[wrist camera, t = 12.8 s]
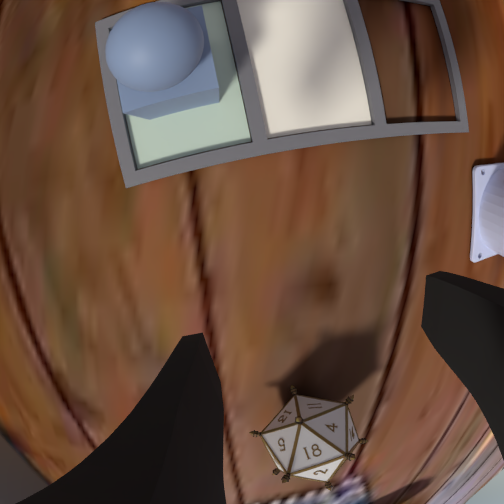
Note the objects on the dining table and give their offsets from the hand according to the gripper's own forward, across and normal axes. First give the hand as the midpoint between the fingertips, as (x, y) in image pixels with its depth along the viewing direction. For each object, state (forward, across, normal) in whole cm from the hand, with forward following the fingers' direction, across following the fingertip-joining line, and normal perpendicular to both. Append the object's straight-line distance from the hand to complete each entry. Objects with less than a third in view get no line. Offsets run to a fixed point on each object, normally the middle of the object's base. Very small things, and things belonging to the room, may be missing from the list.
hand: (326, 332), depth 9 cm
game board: (+10, -4, -10) cm, 15 cm away
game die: (+11, 0, +16) cm, 19 cm away
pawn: (+10, +4, -10) cm, 15 cm away
